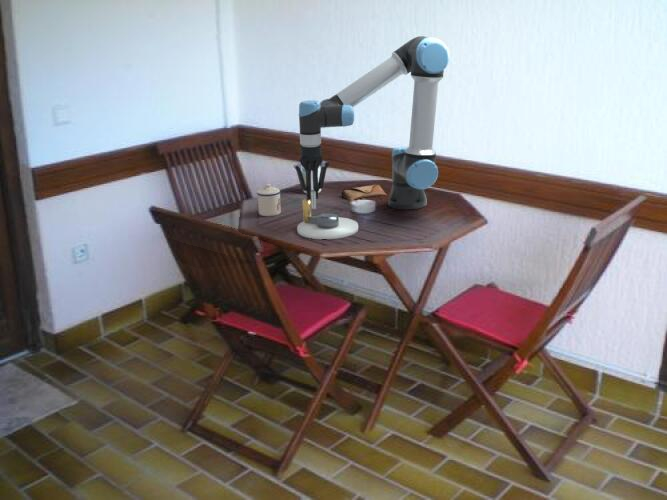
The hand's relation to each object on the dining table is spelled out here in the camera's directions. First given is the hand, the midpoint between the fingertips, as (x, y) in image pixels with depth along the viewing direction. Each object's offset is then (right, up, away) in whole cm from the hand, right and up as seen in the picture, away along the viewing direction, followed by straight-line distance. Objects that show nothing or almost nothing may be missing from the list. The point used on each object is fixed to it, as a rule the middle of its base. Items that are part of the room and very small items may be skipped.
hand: (312, 207), depth 287 cm
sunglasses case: (+21, +6, +36) cm, 43 cm away
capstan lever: (+3, -6, -4) cm, 8 cm away
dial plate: (+6, -8, -6) cm, 11 cm away
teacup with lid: (-17, -1, +19) cm, 26 cm away
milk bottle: (-1, +9, +46) cm, 46 cm away
